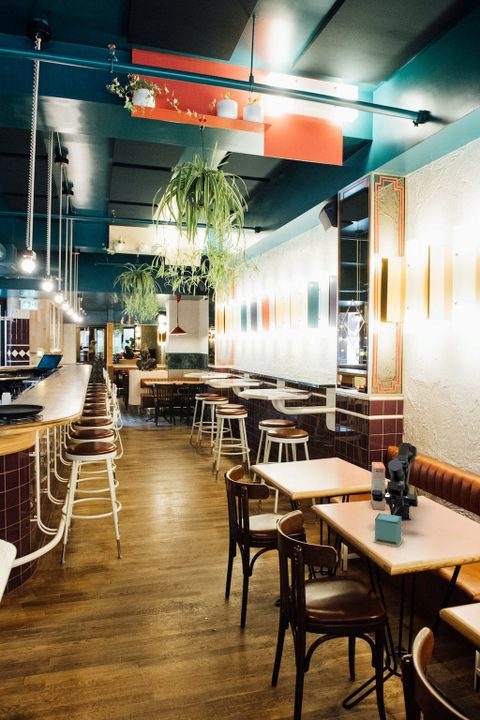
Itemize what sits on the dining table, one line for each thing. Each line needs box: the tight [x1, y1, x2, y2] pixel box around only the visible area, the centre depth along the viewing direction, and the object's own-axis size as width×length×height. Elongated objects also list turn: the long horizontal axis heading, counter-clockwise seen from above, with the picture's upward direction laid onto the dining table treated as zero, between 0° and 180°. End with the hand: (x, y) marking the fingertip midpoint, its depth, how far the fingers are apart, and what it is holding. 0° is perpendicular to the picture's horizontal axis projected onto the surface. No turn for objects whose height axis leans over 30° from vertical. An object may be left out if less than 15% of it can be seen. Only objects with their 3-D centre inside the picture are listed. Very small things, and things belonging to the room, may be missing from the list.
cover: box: [374, 512, 402, 544], centre depth 199 cm, size 8×9×9 cm
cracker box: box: [370, 461, 386, 511], centre depth 246 cm, size 14×6×21 cm, turn 168°
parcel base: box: [373, 536, 404, 548], centre depth 200 cm, size 10×10×1 cm
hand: (391, 515), depth 206 cm, fingers closed
